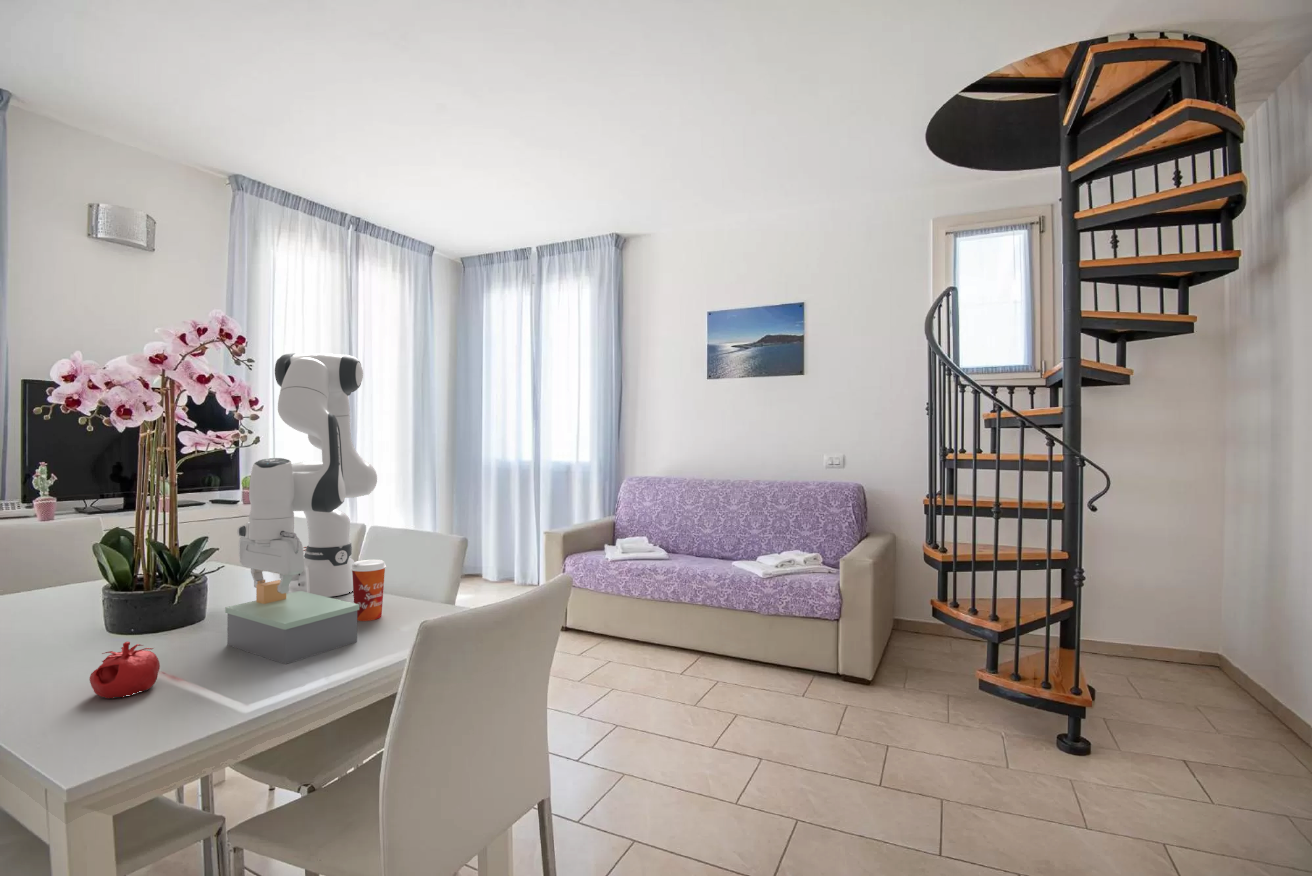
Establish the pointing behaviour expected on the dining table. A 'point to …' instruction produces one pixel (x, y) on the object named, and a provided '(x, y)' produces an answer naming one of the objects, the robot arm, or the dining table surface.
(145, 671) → the red tomato
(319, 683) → the dining table surface
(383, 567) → the coffee cup
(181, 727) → the dining table surface
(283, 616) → the lid
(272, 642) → the tub
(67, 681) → the dining table surface
